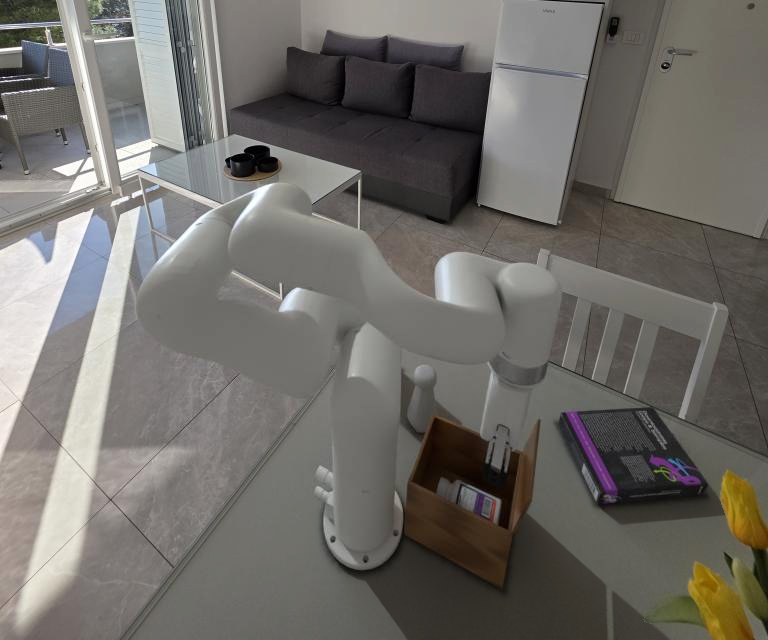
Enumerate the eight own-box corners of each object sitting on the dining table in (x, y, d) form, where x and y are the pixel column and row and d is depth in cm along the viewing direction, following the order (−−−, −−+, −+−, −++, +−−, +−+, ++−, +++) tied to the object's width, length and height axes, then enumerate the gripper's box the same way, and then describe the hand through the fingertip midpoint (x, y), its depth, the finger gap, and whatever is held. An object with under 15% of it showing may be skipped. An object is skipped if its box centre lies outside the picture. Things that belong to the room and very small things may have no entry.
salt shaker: (403, 431, 81) (406, 379, 77) (411, 405, 87) (414, 355, 82) (433, 442, 80) (437, 389, 76) (439, 414, 85) (444, 364, 81)
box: (595, 507, 71) (706, 497, 72) (599, 493, 70) (711, 483, 71) (557, 424, 84) (651, 417, 85) (559, 411, 83) (655, 404, 84)
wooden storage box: (514, 501, 71) (523, 452, 67) (502, 589, 60) (512, 536, 57) (428, 460, 77) (432, 413, 73) (403, 534, 66) (407, 483, 63)
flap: (523, 448, 67) (525, 450, 67) (511, 532, 57) (514, 533, 57) (538, 418, 64) (540, 419, 64) (528, 499, 54) (532, 501, 54)
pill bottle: (496, 535, 67) (437, 505, 71) (503, 495, 68) (444, 467, 72) (493, 551, 62) (430, 517, 66) (500, 507, 64) (438, 477, 68)
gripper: (499, 303, 65) (485, 389, 70) (473, 397, 50) (458, 497, 55) (552, 320, 62) (533, 408, 67) (541, 425, 47) (518, 527, 52)
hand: (499, 448), depth 61 cm, fingers open, 9 cm apart
